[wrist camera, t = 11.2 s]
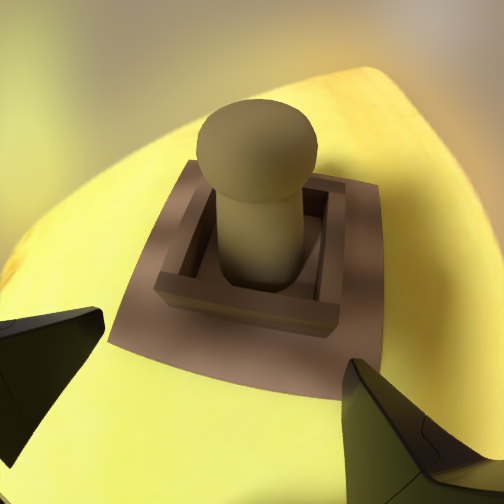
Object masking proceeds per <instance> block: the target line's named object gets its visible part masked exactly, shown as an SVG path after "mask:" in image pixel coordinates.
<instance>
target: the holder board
mask: <svg viewBox="0 0 504 504" xmlns="http://www.w3.org/2000/svg"><path fill="white" fill-rule="evenodd" d="M302 197H303V220H304V254H305V258H304V264H303V269H302V271H301V273H300V274H299V276H298V278H297V279H296V281H294V282H293V283H292V284H291V285H290V286H289V287H287V288H286V289H284V290H282V291H279V292H277V293H274V294H273V293H268V292H262V291H257V290H251V289H246V288H241V287H236V286H232V285H231V284H230V283H229V282H228V280H227V279H226V278H225V277H224V276H223V273H222V271H221V268H220V266H219V253H218V233H217V208H216V190H215V189H213V188H212V187H211V186H210V185H209V184H208V182H207V180H206V179H205V177H204V176H203V173H202V171H201V169H200V166H199V163H198V160H188V162H187V164H186V166H185V167H184V169H183V171H182V173H181V175H180V176H179V178H178V180H177V182H176V184H175V186H174V188H173V189H172V191H171V193H170V195H169V197H168V199H167V201H166V203H165V205H164V207H163V209H162V211H161V213H160V215H159V217H158V219H157V221H156V223H155V225H154V227H153V229H152V231H151V233H150V235H149V238H148V240H147V242H146V244H145V246H144V249H143V251H142V253H141V255H140V258H139V260H138V262H137V264H136V267H135V269H134V272H133V274H132V276H131V279H130V281H129V284H128V286H127V289H126V291H125V294H124V296H123V299H122V301H121V304H120V307H119V309H118V312H117V315H116V318H115V320H114V323H113V326H112V329H111V332H110V335H109V338H108V341H107V342H109V343H111V344H113V345H115V346H118V347H120V348H122V349H125V350H128V351H130V352H133V353H135V354H138V355H141V356H143V357H146V358H149V359H152V360H155V361H157V362H160V363H163V364H166V365H169V366H172V367H176V368H179V369H182V370H185V371H189V372H192V373H196V374H199V375H203V376H206V377H210V378H214V379H218V380H222V381H226V382H230V383H234V384H238V385H243V386H247V387H252V388H257V389H262V390H267V391H273V392H279V393H285V394H291V395H297V396H305V397H312V398H321V399H330V400H341V401H342V379H343V376H344V373H345V370H346V368H347V365H348V362H349V360H350V359H351V358H359V359H363V360H364V361H365V362H367V363H368V364H369V365H370V366H371V367H372V368H373V369H375V370H376V371H377V372H378V373H379V366H380V356H381V345H382V331H383V310H384V256H383V235H382V221H381V210H380V200H379V191H378V185H374V184H369V183H364V182H359V181H355V180H349V179H344V178H339V177H333V176H328V175H322V174H316V173H312V174H311V176H310V177H309V179H308V180H307V182H306V183H305V185H304V186H303V187H302Z"/></svg>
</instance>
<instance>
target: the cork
mask: <svg viewBox="0 0 504 504" xmlns="http://www.w3.org/2000/svg"><path fill="white" fill-rule="evenodd" d="M317 149H318V144H317V137H316V134H315V132H314V129H313V127H312V125H311V124H310V122H309V120H308V119H307V117H306V116H305V115H304V114H302V113H301V112H300V111H299V110H297V109H295V108H293V107H291V106H289V105H287V104H284V103H281V102H277V101H273V100H265V99H251V100H243V101H239V102H234V103H232V104H229V105H227V106H224V107H222V108H220V109H218V110H217V111H215V112H214V113H213V114H211V115H210V116H209V117H208V118H207V119H206V121H205V122H204V124H203V125H202V127H201V129H200V131H199V133H198V139H197V150H196V156H197V160H198V163H199V166H200V169H201V171H202V173H203V176H204V177H205V179H206V180H207V182H208V184H209V185H210V186H211V187H212V188H213V189H215V190H216V208H217V233H218V253H219V266H220V268H221V271H222V273H223V276H224V277H225V278H226V279H227V280H228V282H229V283H230V284H231V285H232V286H236V287H241V288H246V289H251V290H257V291H262V292H268V293H273V294H274V293H277V292H279V291H282V290H284V289H286V288H287V287H289V286H290V285H291V284H292V283H293V282H294V281H296V279H297V278H298V276H299V274H300V273H301V271H302V269H303V264H304V258H305V254H304V220H303V197H302V187H303V186H304V185H305V183H306V182H307V180H308V179H309V177H310V176H311V174H312V172H313V170H314V168H315V163H316V157H317Z"/></svg>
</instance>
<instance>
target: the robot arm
mask: <svg viewBox="0 0 504 504" xmlns="http://www.w3.org/2000/svg"><path fill="white" fill-rule="evenodd" d="M104 332H105V324H104V317H103V312H102V310H101V309H100V308H97V307H94V306H91V307H85V308H80V309H74V310H68V311H63V312H57V313H51V314H45V315H39V316H33V317H27V318H20V319H18V320H17V319H14V320H7V321H0V459H1V460H2V461H3V462H4V463H5V465H6V466H7V467H8V468H9V469H11V467H12V466H13V465H14V463H15V461H16V460H17V458H18V457H19V455H20V453H21V452H22V450H23V449H24V447H25V445H26V444H27V442H28V441H29V439H30V438H31V436H32V435H33V432H34V431H35V430H36V428H37V427H38V426H39V424H40V423H41V421H42V420H43V418H44V417H45V415H46V414H47V413H48V411H49V410H50V408H51V407H52V406H53V404H54V403H55V401H56V400H57V399H58V397H59V396H60V395H61V393H62V392H63V391H64V389H65V388H66V387H67V385H68V384H69V383H70V381H71V380H72V379H73V377H74V376H75V375H76V373H77V372H78V371H79V369H80V368H81V367H82V366H83V364H84V363H85V362H86V360H87V359H88V357H89V356H90V354H91V353H92V351H93V349H94V348H95V346H96V345H97V343H98V342H99V340H100V339H101V337H102V336H103V334H104ZM341 421H342V433H343V445H344V457H345V473H346V494H347V504H504V460H492V459H488V458H485V457H483V456H481V455H480V454H478V453H477V452H475V451H474V450H472V449H471V448H469V447H468V446H466V445H465V444H463V443H462V442H461V441H459V440H458V439H456V438H455V437H453V436H452V435H451V434H449V433H448V432H447V431H445V430H444V429H443V428H441V427H440V426H439V425H438V424H437V423H435V422H434V421H433V420H432V419H431V418H430V417H428V416H427V415H426V416H425V413H424V412H423V411H421V410H420V409H419V408H418V407H417V406H416V405H414V404H413V403H412V402H411V401H410V400H409V399H408V398H406V397H405V396H404V395H403V394H402V393H401V392H400V391H398V390H397V389H396V388H395V387H394V386H393V385H392V384H390V383H389V382H388V381H387V380H386V379H385V378H384V377H383V376H381V375H380V374H379V373H378V372H377V371H376V370H375V369H373V368H372V367H371V366H370V365H369V364H368V363H367V362H365V361H364V360H363V359H359V358H351V359H350V360H349V362H348V365H347V368H346V370H345V373H344V376H343V379H342V419H341ZM0 504H11V503H10V502H9V501H8V500H7V499H6V498H5V497H4V496H3V495H2V494H1V493H0Z"/></svg>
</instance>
